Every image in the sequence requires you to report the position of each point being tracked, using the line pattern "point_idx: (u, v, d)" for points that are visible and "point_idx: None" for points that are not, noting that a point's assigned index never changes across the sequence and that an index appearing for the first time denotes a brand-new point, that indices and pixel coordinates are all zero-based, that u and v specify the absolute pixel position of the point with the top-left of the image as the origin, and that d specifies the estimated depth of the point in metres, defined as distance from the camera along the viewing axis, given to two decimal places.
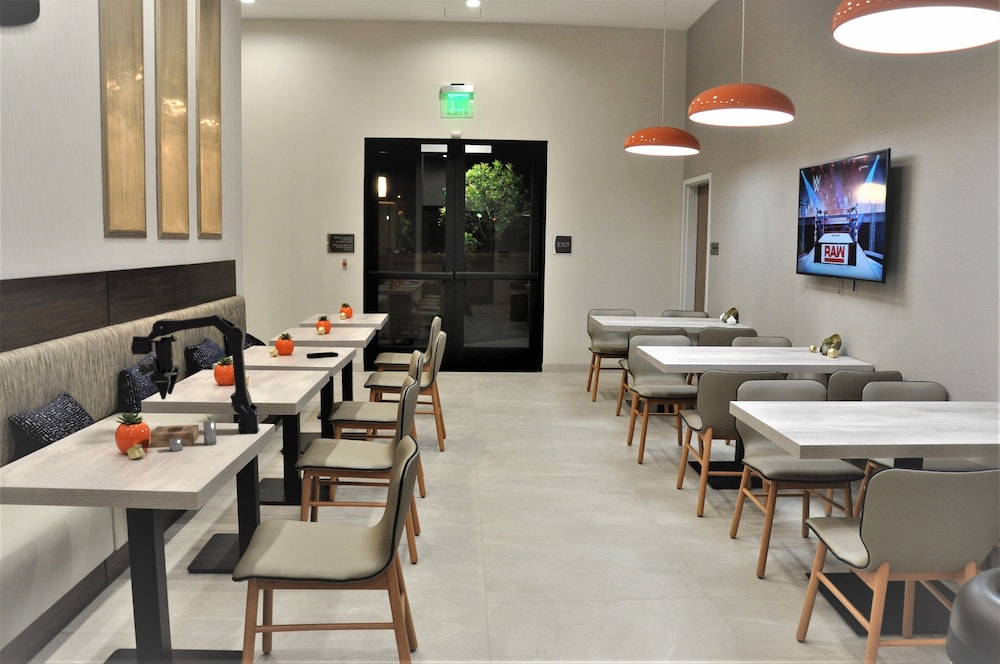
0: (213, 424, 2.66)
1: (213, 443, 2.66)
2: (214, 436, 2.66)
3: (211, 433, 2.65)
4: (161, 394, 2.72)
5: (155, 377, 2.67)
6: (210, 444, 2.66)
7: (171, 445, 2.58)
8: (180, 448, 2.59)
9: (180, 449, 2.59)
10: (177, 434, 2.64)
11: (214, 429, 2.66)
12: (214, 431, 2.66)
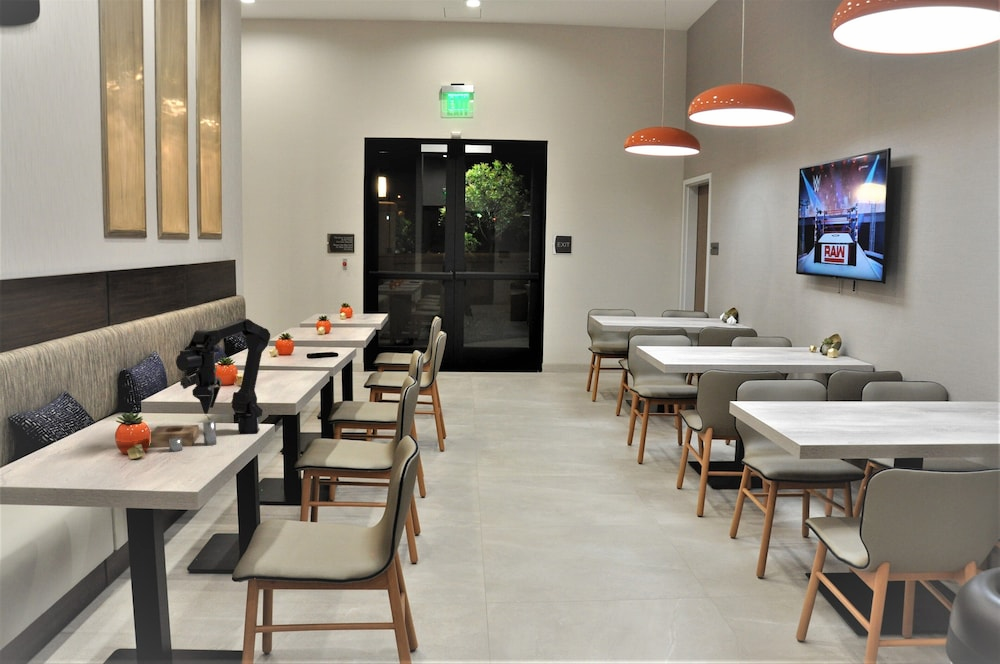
0: (213, 424, 2.66)
1: (213, 443, 2.66)
2: (214, 436, 2.66)
3: (211, 433, 2.65)
4: (204, 408, 2.61)
5: (198, 391, 2.56)
6: (210, 444, 2.66)
7: (171, 445, 2.58)
8: (180, 448, 2.59)
9: (180, 449, 2.59)
10: (177, 434, 2.64)
11: (214, 429, 2.66)
12: (214, 431, 2.66)
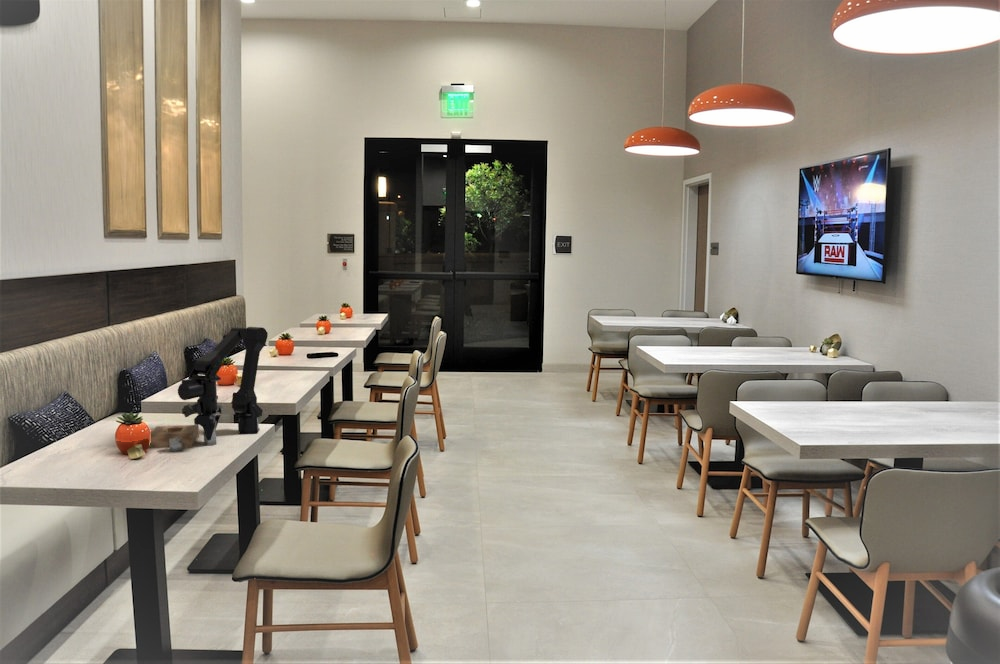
0: None
1: (213, 443, 2.66)
2: (214, 436, 2.66)
3: None
4: (207, 435, 2.64)
5: (200, 420, 2.57)
6: (210, 444, 2.66)
7: (171, 445, 2.58)
8: (180, 448, 2.59)
9: (180, 449, 2.59)
10: (177, 434, 2.64)
11: (214, 429, 2.66)
12: (214, 431, 2.66)
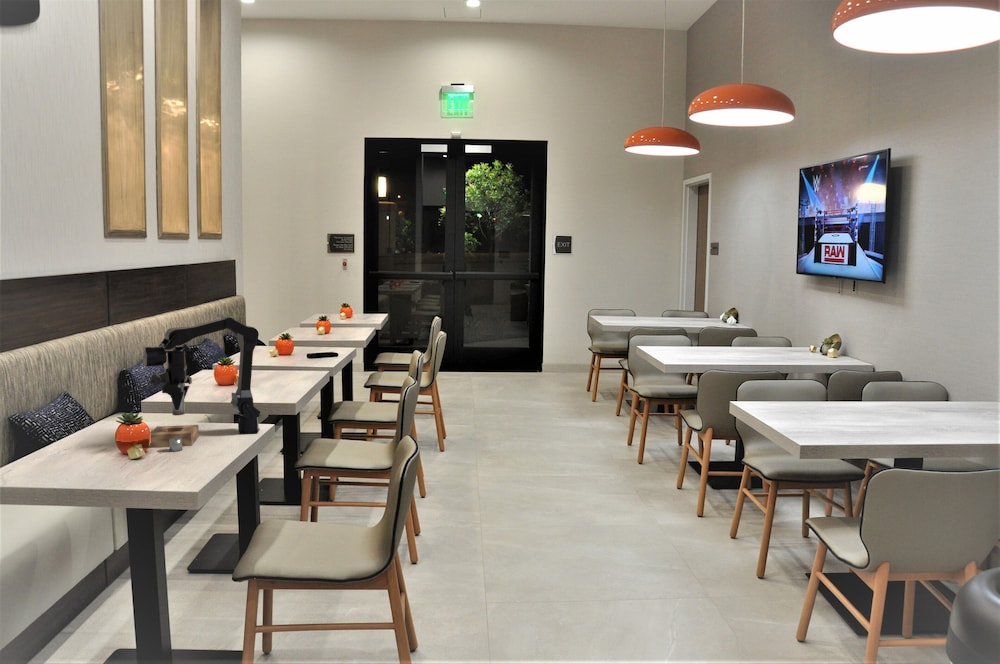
0: None
1: (181, 413, 2.67)
2: (182, 406, 2.67)
3: None
4: (175, 404, 2.65)
5: (168, 389, 2.58)
6: (178, 414, 2.66)
7: (171, 445, 2.58)
8: (180, 448, 2.59)
9: (180, 449, 2.59)
10: (177, 434, 2.64)
11: (182, 399, 2.67)
12: (182, 401, 2.67)
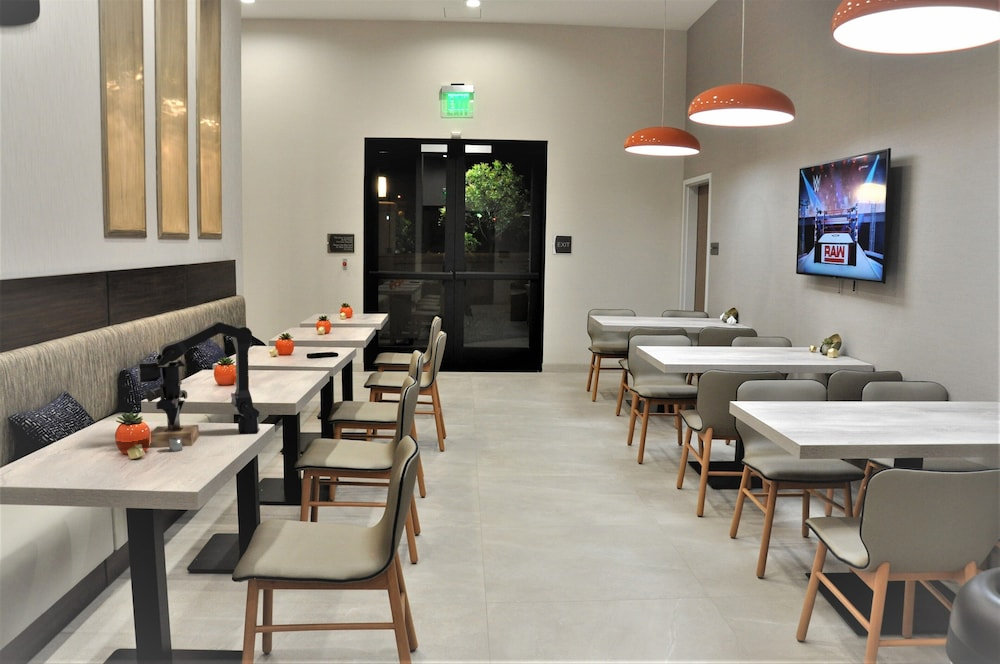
0: None
1: (176, 428, 2.68)
2: (177, 421, 2.69)
3: None
4: (170, 419, 2.66)
5: (162, 405, 2.59)
6: (173, 429, 2.68)
7: (171, 445, 2.58)
8: (180, 448, 2.59)
9: (180, 449, 2.59)
10: (177, 434, 2.64)
11: (177, 414, 2.68)
12: (177, 416, 2.68)
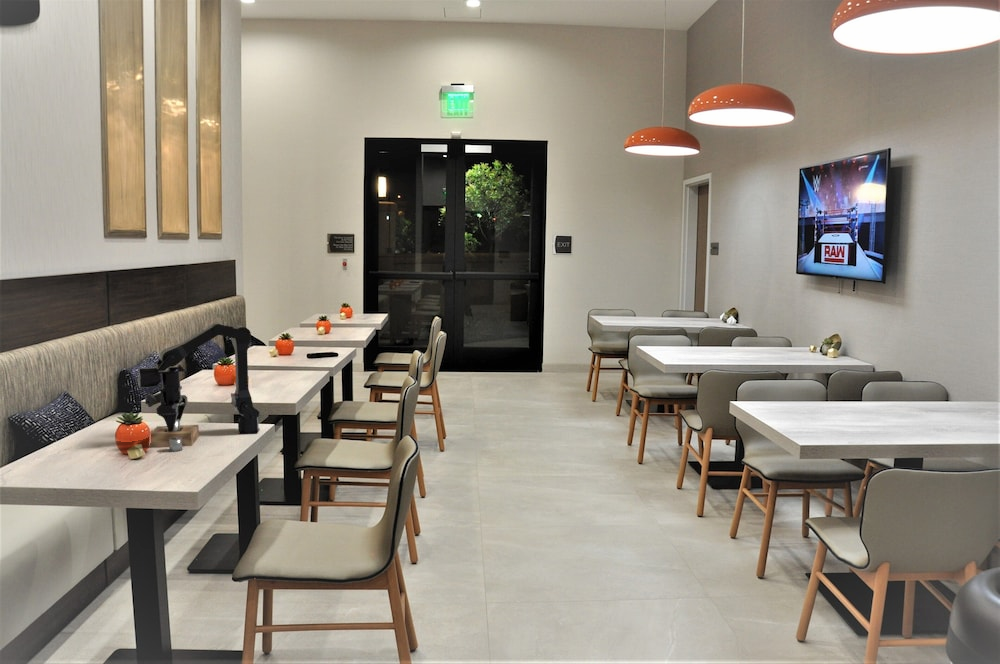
0: (177, 422, 2.68)
1: None
2: None
3: None
4: (168, 426, 2.64)
5: (162, 410, 2.59)
6: None
7: (171, 445, 2.58)
8: (180, 448, 2.59)
9: (180, 449, 2.59)
10: (177, 434, 2.64)
11: (178, 427, 2.69)
12: (178, 429, 2.69)
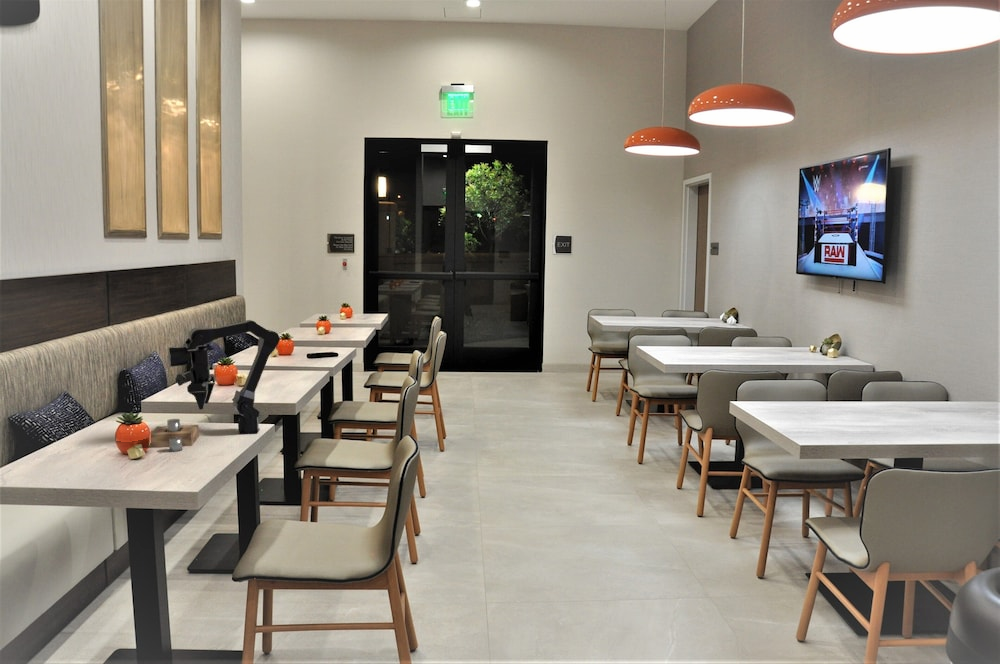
0: (177, 422, 2.68)
1: None
2: None
3: None
4: (199, 404, 2.69)
5: (193, 388, 2.64)
6: None
7: (171, 445, 2.58)
8: (180, 448, 2.59)
9: (180, 449, 2.59)
10: (177, 434, 2.64)
11: (178, 427, 2.69)
12: (178, 429, 2.69)
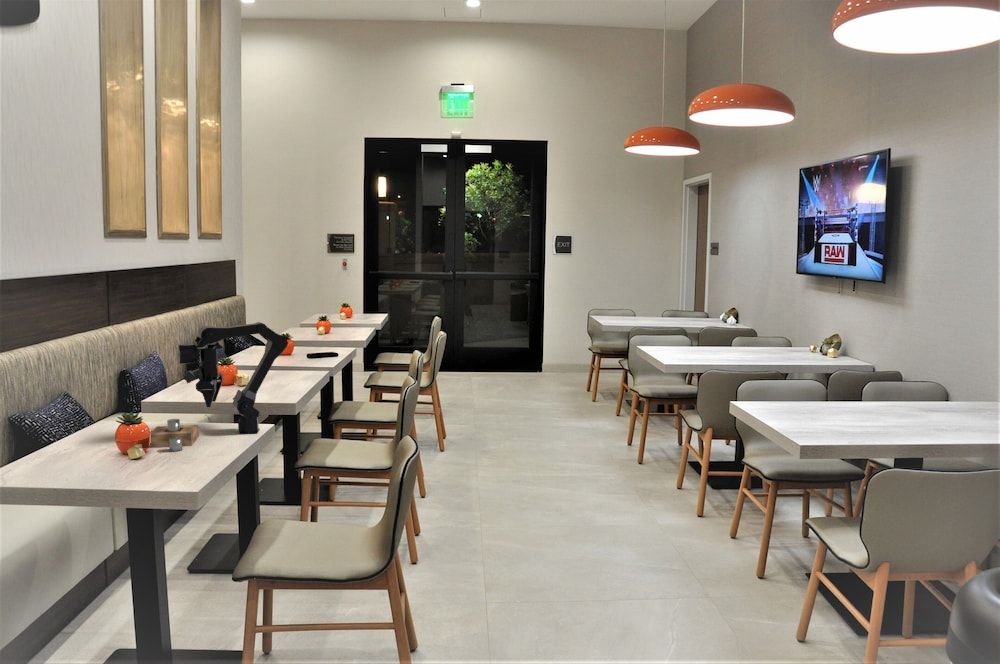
0: (177, 422, 2.68)
1: None
2: None
3: None
4: (206, 402, 2.70)
5: (201, 385, 2.65)
6: None
7: (171, 445, 2.58)
8: (180, 448, 2.59)
9: (180, 449, 2.59)
10: (177, 434, 2.64)
11: (178, 427, 2.69)
12: (178, 429, 2.69)
